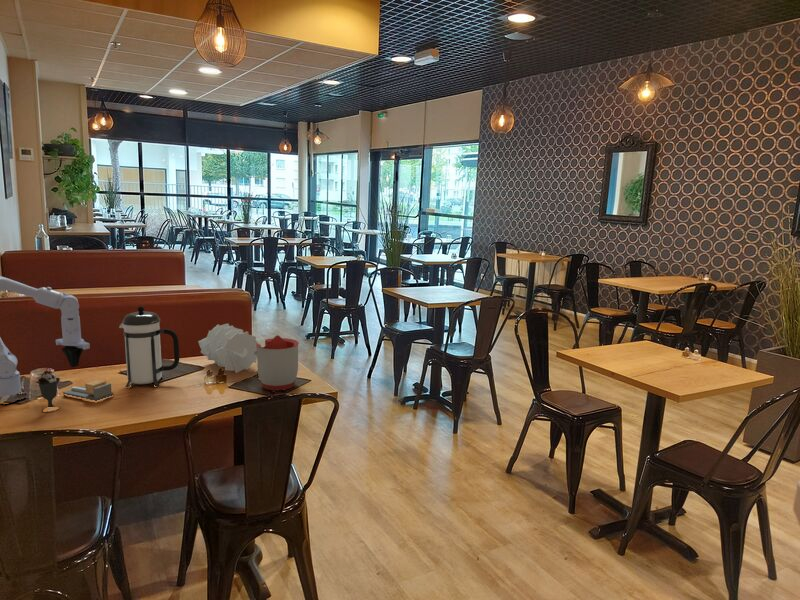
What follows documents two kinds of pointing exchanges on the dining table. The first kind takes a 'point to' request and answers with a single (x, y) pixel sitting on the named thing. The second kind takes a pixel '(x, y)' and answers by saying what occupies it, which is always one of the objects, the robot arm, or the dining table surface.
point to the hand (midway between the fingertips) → (74, 366)
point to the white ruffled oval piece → (229, 347)
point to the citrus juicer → (277, 363)
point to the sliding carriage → (93, 385)
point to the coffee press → (145, 347)
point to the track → (98, 392)
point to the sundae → (48, 386)
